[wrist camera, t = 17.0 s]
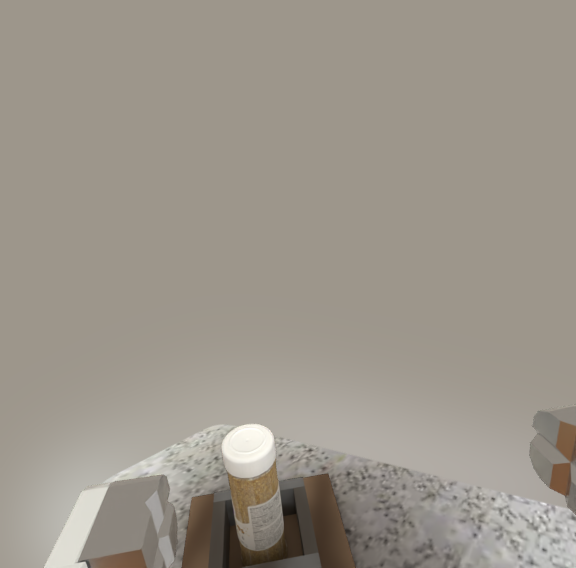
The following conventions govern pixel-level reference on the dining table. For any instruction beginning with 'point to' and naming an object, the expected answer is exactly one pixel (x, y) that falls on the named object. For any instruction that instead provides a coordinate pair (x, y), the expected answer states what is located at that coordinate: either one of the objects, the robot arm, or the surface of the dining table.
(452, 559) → the dining table surface
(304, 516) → the socket base
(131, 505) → the robot arm
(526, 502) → the dining table surface
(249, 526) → the sprinkles bottle
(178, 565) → the dining table surface
